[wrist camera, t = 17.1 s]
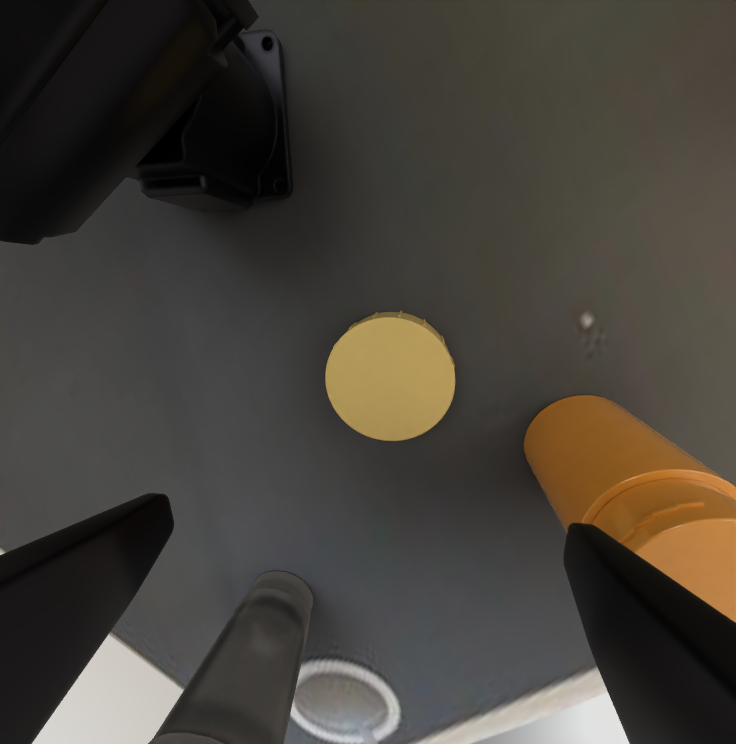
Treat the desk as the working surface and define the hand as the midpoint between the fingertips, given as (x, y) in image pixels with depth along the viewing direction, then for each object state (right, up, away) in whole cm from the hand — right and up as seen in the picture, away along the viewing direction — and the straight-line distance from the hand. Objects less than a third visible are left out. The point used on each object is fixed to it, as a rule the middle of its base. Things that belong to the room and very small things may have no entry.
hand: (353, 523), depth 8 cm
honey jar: (+12, 0, +11) cm, 16 cm away
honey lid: (+1, +3, +10) cm, 10 cm away
